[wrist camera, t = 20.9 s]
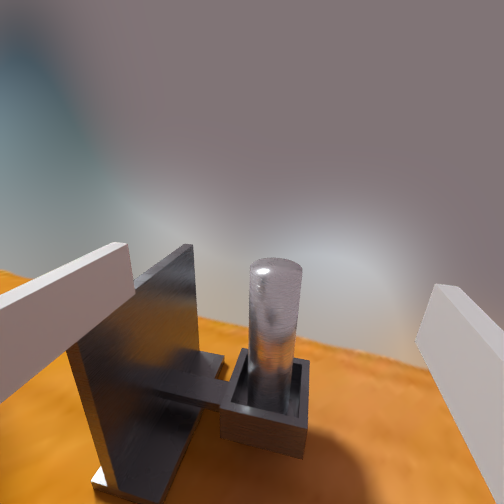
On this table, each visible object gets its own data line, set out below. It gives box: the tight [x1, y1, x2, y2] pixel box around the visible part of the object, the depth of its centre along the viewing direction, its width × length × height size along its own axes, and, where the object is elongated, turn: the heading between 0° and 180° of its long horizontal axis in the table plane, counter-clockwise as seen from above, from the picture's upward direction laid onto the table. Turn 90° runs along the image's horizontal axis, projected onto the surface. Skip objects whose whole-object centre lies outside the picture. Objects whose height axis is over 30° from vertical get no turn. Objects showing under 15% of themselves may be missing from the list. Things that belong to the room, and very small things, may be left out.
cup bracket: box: [66, 244, 310, 504], centre depth 27 cm, size 19×18×19 cm
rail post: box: [247, 258, 302, 415], centre depth 25 cm, size 4×4×16 cm
